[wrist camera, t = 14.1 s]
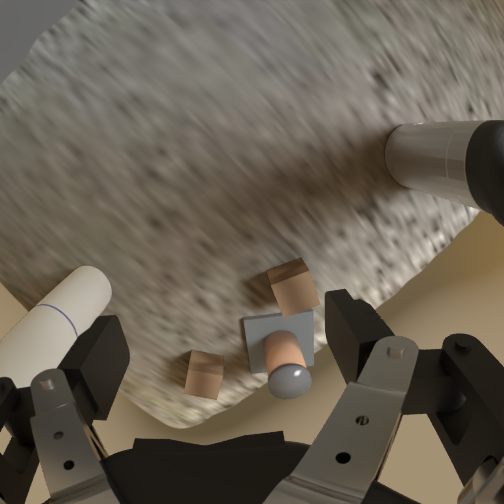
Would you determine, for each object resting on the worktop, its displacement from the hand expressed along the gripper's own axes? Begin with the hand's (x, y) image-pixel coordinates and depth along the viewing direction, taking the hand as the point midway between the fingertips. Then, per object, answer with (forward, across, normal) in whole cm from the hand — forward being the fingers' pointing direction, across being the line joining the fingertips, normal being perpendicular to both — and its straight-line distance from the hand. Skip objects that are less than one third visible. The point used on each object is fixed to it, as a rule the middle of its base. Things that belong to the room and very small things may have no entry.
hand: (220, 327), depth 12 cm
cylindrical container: (+30, +22, +10) cm, 39 cm away
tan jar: (+29, -5, +22) cm, 37 cm away
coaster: (+30, -5, +22) cm, 37 cm away
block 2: (+30, -7, +12) cm, 33 cm away
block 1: (+30, +7, +25) cm, 40 cm away
